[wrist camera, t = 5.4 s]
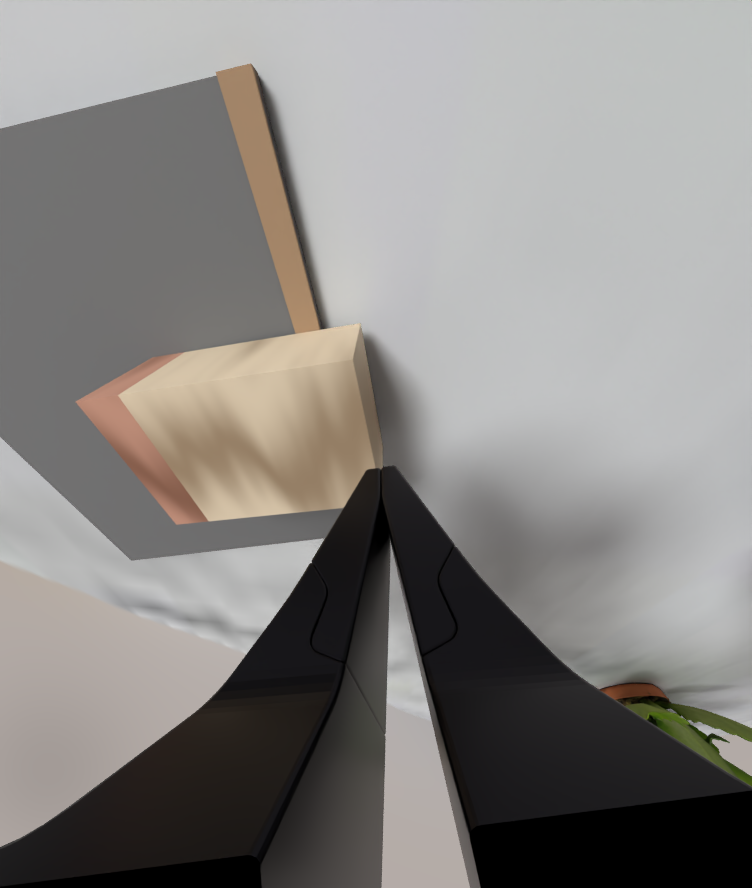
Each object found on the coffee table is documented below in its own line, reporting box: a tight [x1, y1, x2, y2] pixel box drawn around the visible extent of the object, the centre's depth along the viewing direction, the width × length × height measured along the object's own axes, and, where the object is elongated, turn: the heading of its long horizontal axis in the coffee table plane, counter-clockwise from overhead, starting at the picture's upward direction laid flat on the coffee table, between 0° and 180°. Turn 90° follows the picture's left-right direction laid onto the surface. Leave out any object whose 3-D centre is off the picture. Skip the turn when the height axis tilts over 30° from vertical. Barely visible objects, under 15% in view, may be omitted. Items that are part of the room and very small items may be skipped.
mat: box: [0, 64, 343, 560], centre depth 15 cm, size 20×17×1 cm
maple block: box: [76, 323, 383, 525], centre depth 13 cm, size 6×4×9 cm
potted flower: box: [600, 683, 752, 786], centre depth 33 cm, size 25×24×18 cm
